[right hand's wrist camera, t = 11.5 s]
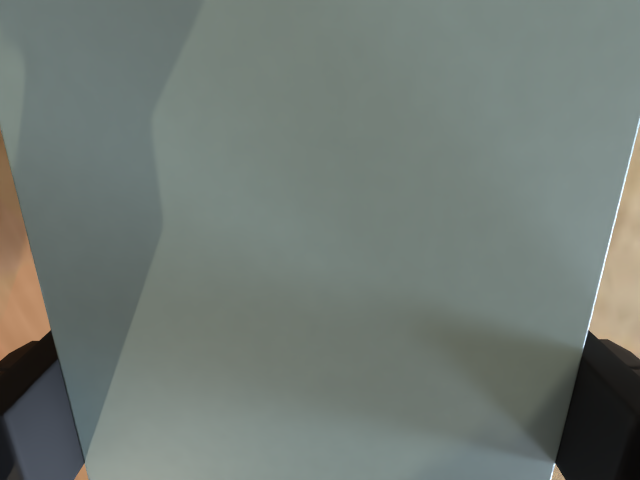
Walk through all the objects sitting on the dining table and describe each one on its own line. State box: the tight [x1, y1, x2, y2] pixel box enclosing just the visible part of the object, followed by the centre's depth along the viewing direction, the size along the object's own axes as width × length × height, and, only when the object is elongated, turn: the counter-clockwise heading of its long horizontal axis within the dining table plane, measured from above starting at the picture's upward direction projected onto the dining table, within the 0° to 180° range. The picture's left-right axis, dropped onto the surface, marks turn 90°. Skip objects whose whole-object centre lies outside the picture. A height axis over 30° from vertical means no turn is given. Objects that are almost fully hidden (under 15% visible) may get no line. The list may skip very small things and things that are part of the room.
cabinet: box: [0, 0, 640, 480], centre depth 12 cm, size 19×10×11 cm, turn 0°
